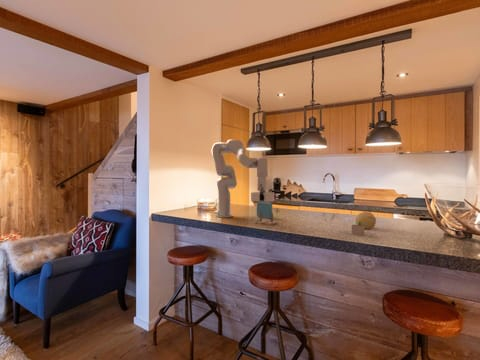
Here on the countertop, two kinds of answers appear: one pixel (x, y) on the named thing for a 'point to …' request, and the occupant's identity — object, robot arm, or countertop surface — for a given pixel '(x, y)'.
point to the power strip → (267, 196)
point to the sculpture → (366, 220)
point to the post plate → (266, 221)
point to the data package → (264, 209)
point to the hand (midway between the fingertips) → (262, 199)
